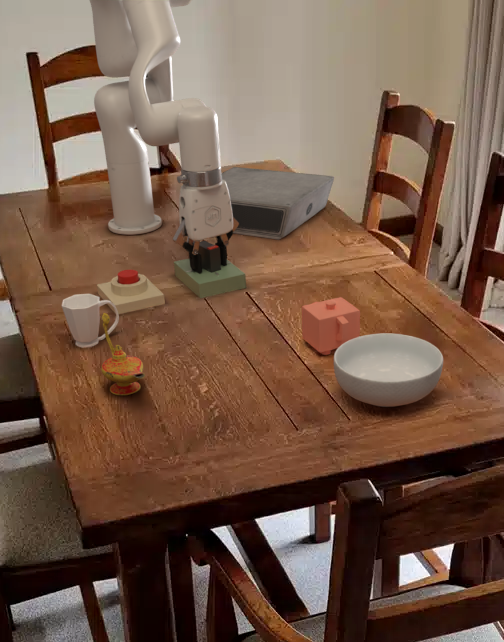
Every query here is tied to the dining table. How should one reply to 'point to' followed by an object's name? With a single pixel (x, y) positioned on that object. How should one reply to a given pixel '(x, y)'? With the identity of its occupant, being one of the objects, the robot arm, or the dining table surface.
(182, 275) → the panel
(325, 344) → the pink cube teapot
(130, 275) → the power button
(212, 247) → the red-striped black box
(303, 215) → the speaker
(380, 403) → the cereal bowl
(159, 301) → the switch box
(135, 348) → the dining table surface
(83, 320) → the cup
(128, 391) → the magic lamp
